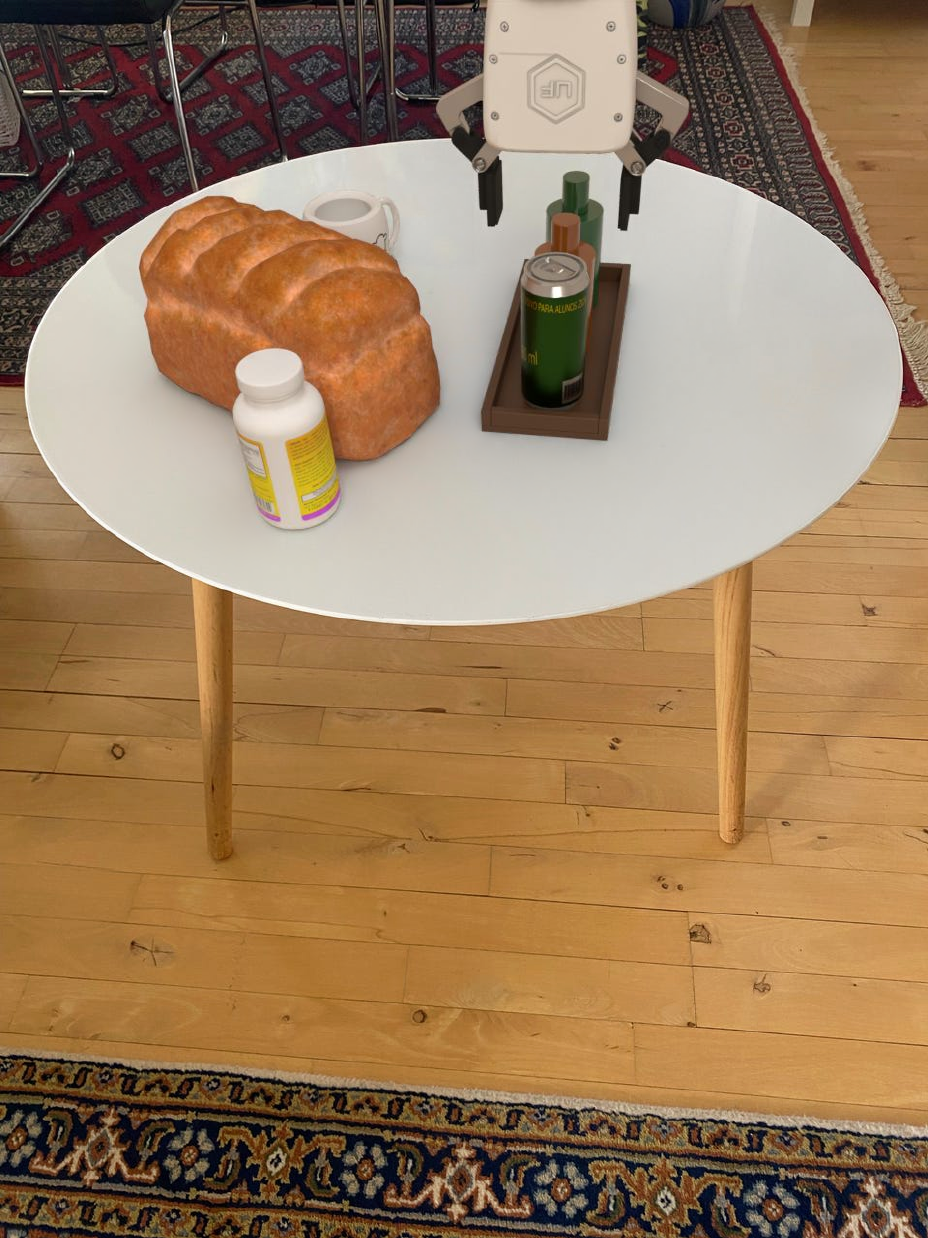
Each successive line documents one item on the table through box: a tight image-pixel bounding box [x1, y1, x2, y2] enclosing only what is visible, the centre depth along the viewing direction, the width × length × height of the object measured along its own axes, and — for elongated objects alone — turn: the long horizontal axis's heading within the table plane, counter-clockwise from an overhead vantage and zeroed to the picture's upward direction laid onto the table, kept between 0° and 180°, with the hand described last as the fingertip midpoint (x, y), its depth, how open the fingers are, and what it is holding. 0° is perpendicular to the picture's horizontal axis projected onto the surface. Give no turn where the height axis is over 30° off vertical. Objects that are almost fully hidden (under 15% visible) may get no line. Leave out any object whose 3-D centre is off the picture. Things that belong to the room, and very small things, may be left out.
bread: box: [138, 195, 441, 462], centre depth 83 cm, size 14×26×16 cm, turn 52°
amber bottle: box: [533, 213, 595, 353], centre depth 86 cm, size 5×5×12 cm
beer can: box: [521, 252, 590, 412], centre depth 81 cm, size 5×5×12 cm
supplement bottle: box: [232, 348, 342, 531], centre depth 74 cm, size 7×7×13 cm
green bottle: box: [545, 170, 605, 309], centre depth 92 cm, size 5×5×12 cm
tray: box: [480, 258, 632, 441], centre depth 90 cm, size 11×26×2 cm, turn 170°
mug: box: [301, 189, 401, 254], centre depth 100 cm, size 12×8×8 cm
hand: (558, 220), depth 74 cm, fingers open, 9 cm apart
